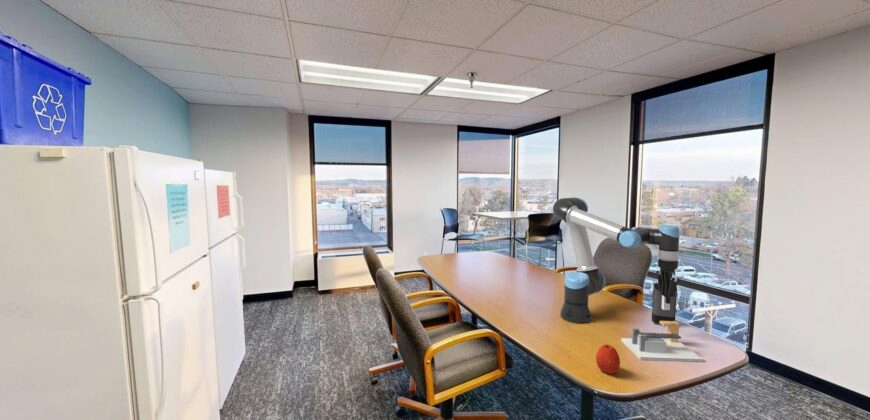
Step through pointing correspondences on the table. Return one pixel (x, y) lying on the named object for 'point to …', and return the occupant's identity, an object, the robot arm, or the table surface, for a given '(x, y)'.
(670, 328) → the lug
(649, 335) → the strap
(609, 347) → the apple
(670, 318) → the electronic device
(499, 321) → the table surface
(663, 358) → the board
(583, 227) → the robot arm
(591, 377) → the table surface
